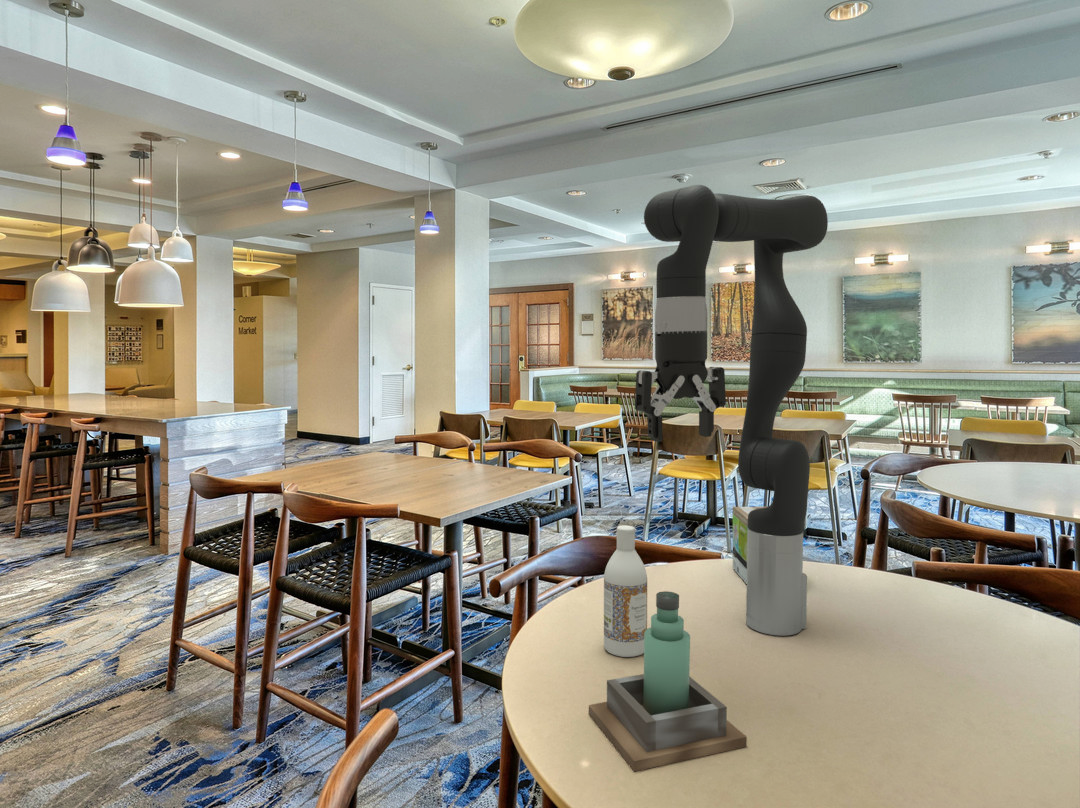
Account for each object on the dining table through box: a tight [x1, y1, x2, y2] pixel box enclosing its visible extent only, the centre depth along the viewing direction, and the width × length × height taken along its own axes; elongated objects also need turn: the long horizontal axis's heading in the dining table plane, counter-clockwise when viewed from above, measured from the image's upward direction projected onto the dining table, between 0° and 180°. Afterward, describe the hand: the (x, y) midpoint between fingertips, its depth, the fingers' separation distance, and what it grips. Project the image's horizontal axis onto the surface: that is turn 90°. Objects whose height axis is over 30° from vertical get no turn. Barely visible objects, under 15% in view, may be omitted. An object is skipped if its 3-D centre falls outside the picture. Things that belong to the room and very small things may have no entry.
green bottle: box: [643, 590, 691, 715], centre depth 81 cm, size 6×6×16 cm
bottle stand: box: [588, 673, 748, 772], centre depth 81 cm, size 15×13×5 cm
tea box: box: [732, 505, 769, 584], centre depth 140 cm, size 15×10×15 cm
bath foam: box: [603, 524, 648, 658], centre depth 105 cm, size 7×7×20 cm
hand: (681, 438), depth 97 cm, fingers open, 8 cm apart
